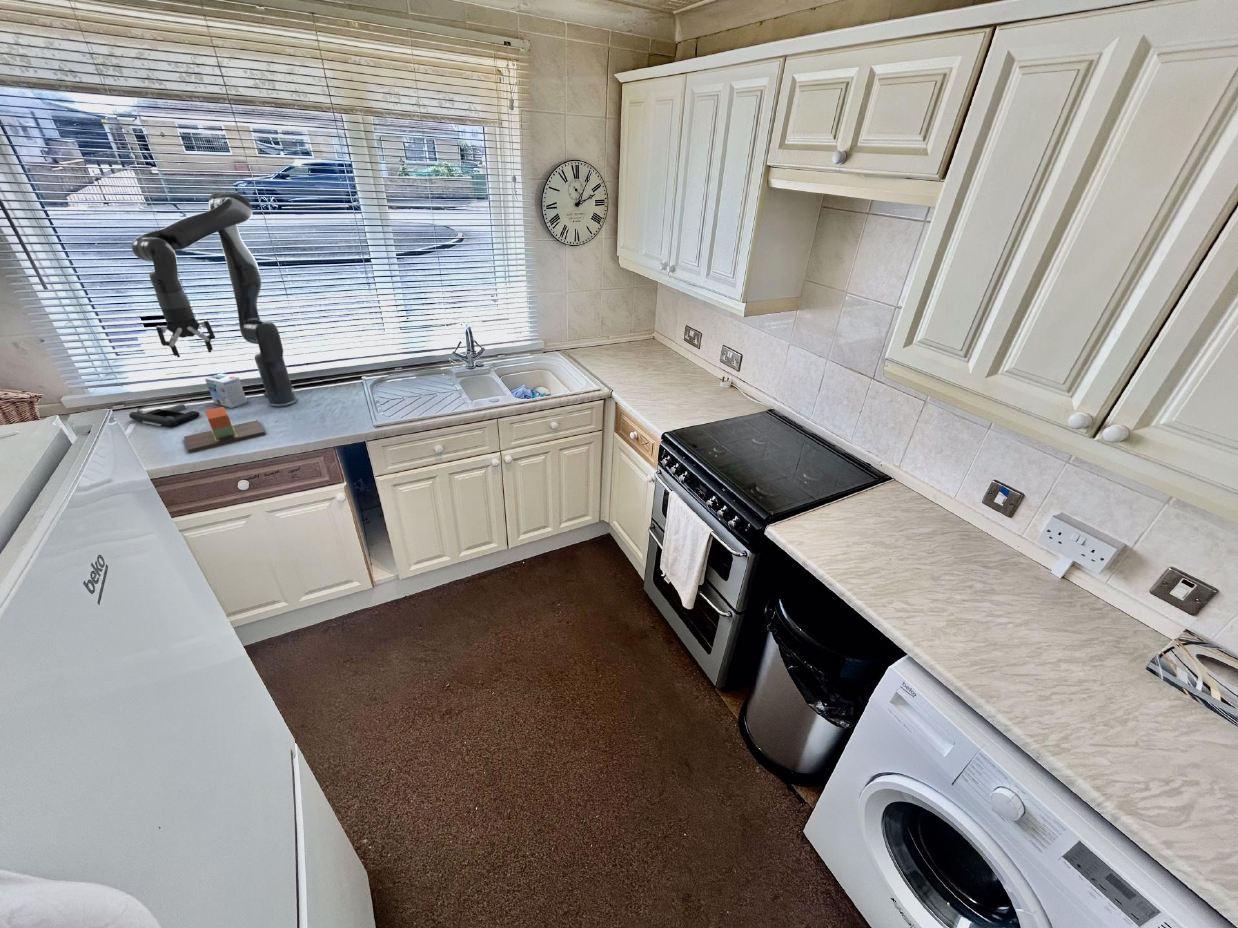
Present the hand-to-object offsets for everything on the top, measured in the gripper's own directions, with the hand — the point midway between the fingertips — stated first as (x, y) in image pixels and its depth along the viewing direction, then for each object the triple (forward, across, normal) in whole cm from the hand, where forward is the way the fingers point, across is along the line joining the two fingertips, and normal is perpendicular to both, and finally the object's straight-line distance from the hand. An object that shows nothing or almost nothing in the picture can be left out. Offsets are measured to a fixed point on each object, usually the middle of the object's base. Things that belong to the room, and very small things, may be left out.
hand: (194, 354), depth 174 cm
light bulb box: (+28, -6, -26) cm, 39 cm away
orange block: (+23, 0, +7) cm, 24 cm away
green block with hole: (+27, +1, +7) cm, 28 cm away
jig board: (+28, 0, +7) cm, 29 cm away
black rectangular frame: (+28, +14, -24) cm, 39 cm away
